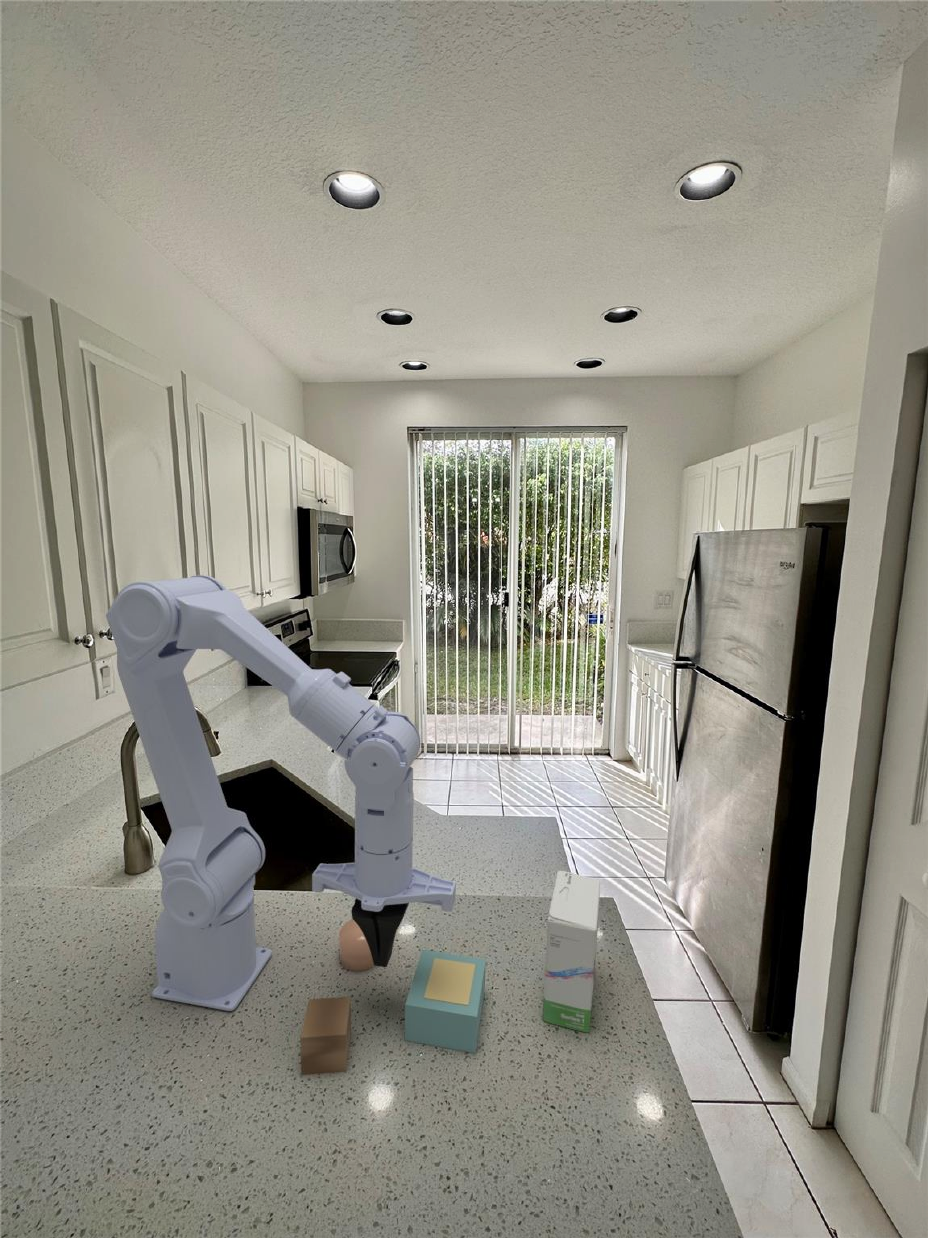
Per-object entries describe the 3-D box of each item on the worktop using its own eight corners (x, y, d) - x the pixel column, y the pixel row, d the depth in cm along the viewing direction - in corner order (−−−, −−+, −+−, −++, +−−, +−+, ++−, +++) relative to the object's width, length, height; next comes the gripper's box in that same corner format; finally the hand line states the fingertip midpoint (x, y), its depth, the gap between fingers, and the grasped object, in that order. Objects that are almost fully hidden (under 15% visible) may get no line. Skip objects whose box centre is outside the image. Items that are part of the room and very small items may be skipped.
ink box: (590, 1036, 53) (598, 930, 51) (540, 1021, 54) (546, 918, 52) (594, 970, 61) (601, 876, 59) (551, 959, 62) (556, 867, 60)
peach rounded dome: (333, 969, 60) (333, 946, 59) (347, 936, 65) (347, 914, 64) (376, 974, 59) (376, 950, 59) (387, 940, 64) (387, 918, 64)
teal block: (405, 1003, 51) (477, 1016, 50) (422, 949, 58) (485, 958, 57) (404, 1041, 52) (475, 1054, 50) (421, 982, 58) (484, 993, 57)
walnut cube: (301, 1076, 48) (300, 1038, 47) (309, 1035, 52) (308, 999, 51) (346, 1072, 48) (345, 1034, 48) (351, 1032, 52) (350, 996, 52)
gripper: (297, 852, 50) (299, 979, 52) (447, 872, 48) (443, 1004, 50) (327, 814, 57) (328, 927, 59) (460, 830, 54) (456, 947, 57)
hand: (382, 959), depth 55 cm, fingers closed
